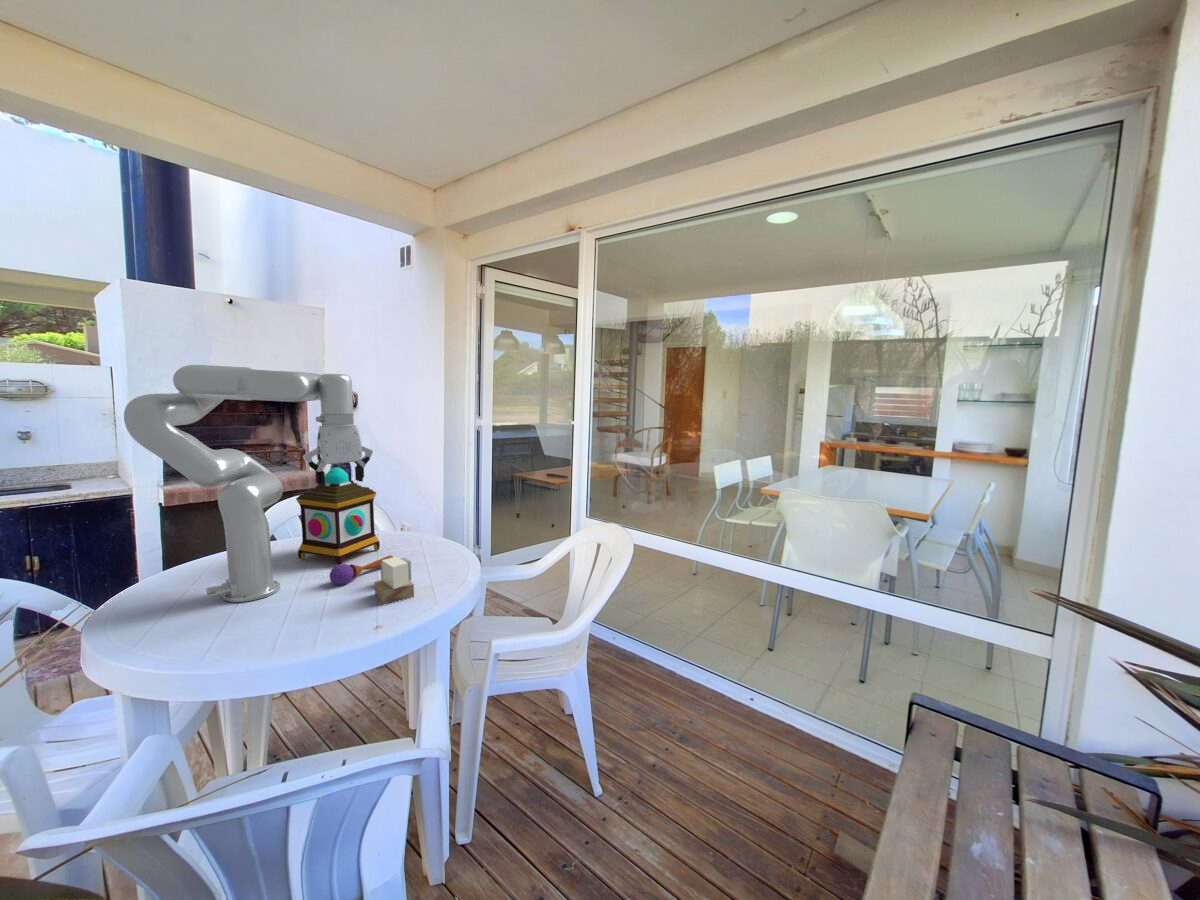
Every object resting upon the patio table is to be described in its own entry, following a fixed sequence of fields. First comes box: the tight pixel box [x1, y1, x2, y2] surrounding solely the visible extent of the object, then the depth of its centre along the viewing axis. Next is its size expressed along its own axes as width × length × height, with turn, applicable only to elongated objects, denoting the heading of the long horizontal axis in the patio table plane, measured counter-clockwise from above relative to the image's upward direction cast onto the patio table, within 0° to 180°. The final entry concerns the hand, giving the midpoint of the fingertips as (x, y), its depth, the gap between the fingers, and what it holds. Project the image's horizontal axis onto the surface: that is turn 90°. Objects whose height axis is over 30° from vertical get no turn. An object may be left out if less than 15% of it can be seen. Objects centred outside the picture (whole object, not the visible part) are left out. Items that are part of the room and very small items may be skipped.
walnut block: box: [374, 579, 415, 606], centre depth 129 cm, size 8×8×4 cm
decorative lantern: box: [295, 467, 381, 565], centre depth 157 cm, size 20×20×30 cm
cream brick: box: [382, 556, 409, 589], centre depth 128 cm, size 7×4×6 cm, turn 46°
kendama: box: [329, 554, 394, 586], centre depth 142 cm, size 6×6×20 cm
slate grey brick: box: [380, 557, 412, 581], centre depth 138 cm, size 7×4×6 cm, turn 140°
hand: (340, 483), depth 128 cm, fingers open, 9 cm apart
